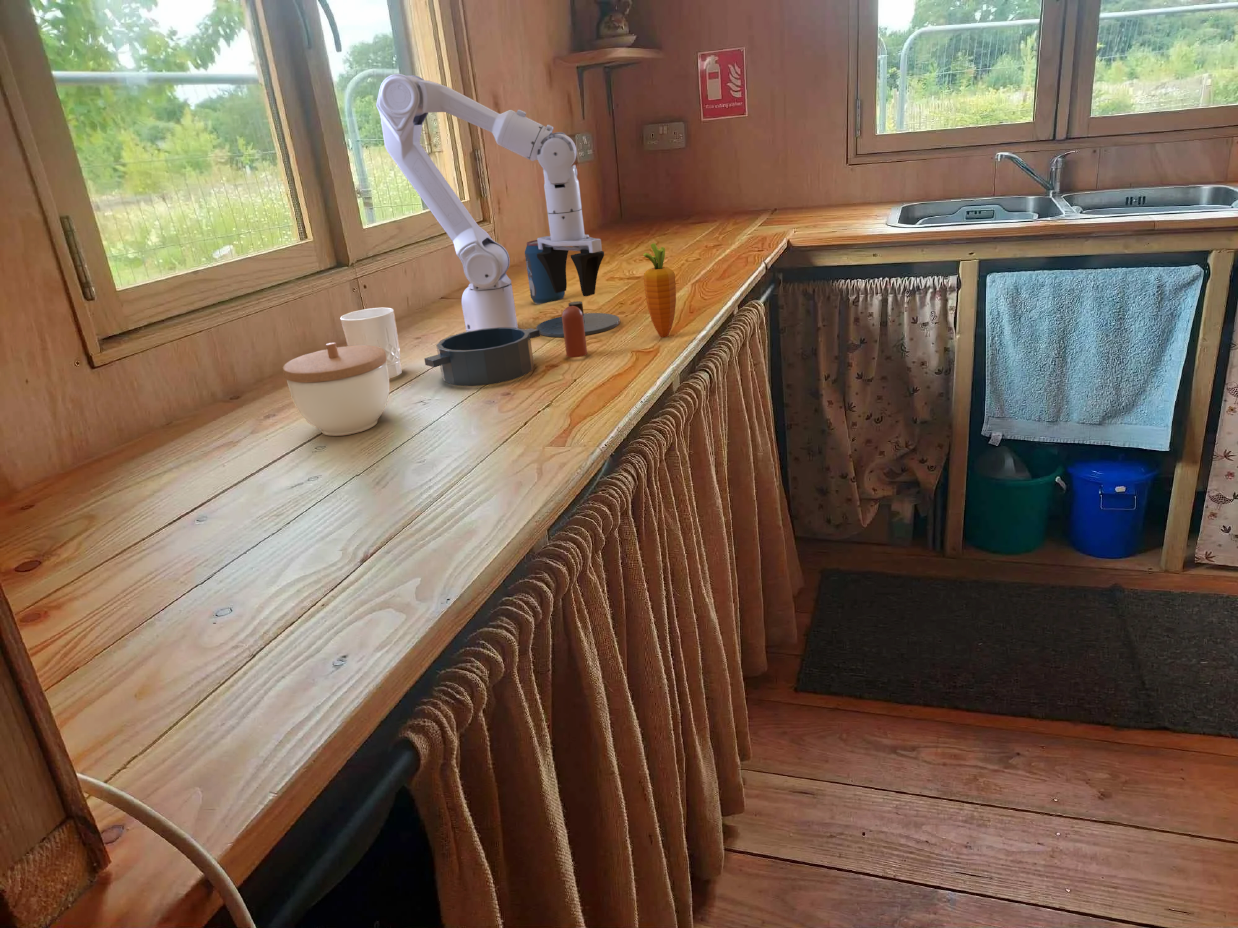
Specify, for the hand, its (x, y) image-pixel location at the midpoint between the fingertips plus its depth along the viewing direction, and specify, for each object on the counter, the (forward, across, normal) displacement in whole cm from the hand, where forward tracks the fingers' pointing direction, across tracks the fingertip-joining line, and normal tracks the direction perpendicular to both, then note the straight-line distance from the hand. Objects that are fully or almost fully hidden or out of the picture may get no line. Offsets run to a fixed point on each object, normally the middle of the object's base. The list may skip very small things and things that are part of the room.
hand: (574, 293), depth 149 cm
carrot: (+7, -19, -2) cm, 20 cm away
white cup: (+6, +6, +35) cm, 36 cm away
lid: (+6, 0, 0) cm, 6 cm away
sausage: (+6, -14, +12) cm, 19 cm away
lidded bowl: (+6, -12, +49) cm, 51 cm away
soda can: (+6, +25, -13) cm, 29 cm away
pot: (+6, -9, +25) cm, 27 cm away
